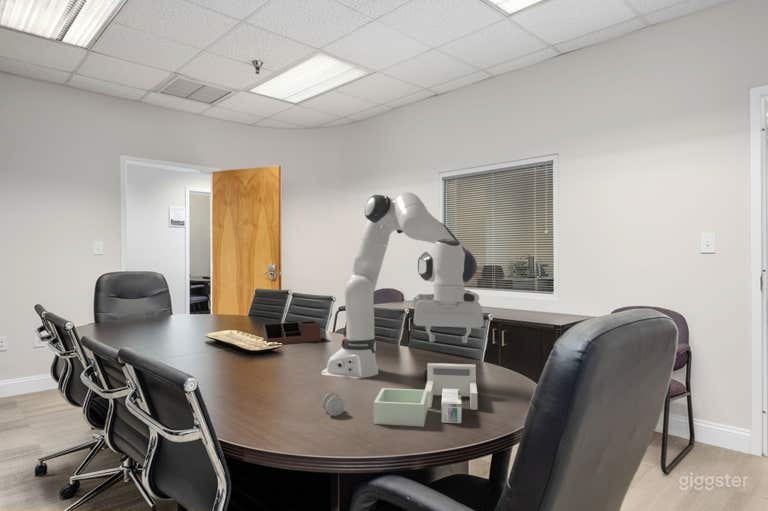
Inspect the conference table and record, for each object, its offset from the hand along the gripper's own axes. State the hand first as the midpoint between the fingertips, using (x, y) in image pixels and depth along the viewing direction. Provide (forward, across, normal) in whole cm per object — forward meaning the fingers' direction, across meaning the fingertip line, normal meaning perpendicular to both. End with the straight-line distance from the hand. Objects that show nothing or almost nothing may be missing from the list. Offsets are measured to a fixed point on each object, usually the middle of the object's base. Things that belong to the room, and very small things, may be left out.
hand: (448, 341), depth 136 cm
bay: (+22, +1, +14) cm, 26 cm away
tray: (+22, -13, -3) cm, 26 cm away
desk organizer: (+23, -86, +97) cm, 132 cm away
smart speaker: (+22, -6, +37) cm, 44 cm away
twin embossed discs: (+22, -34, -3) cm, 40 cm away
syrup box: (+19, +1, +8) cm, 21 cm away
